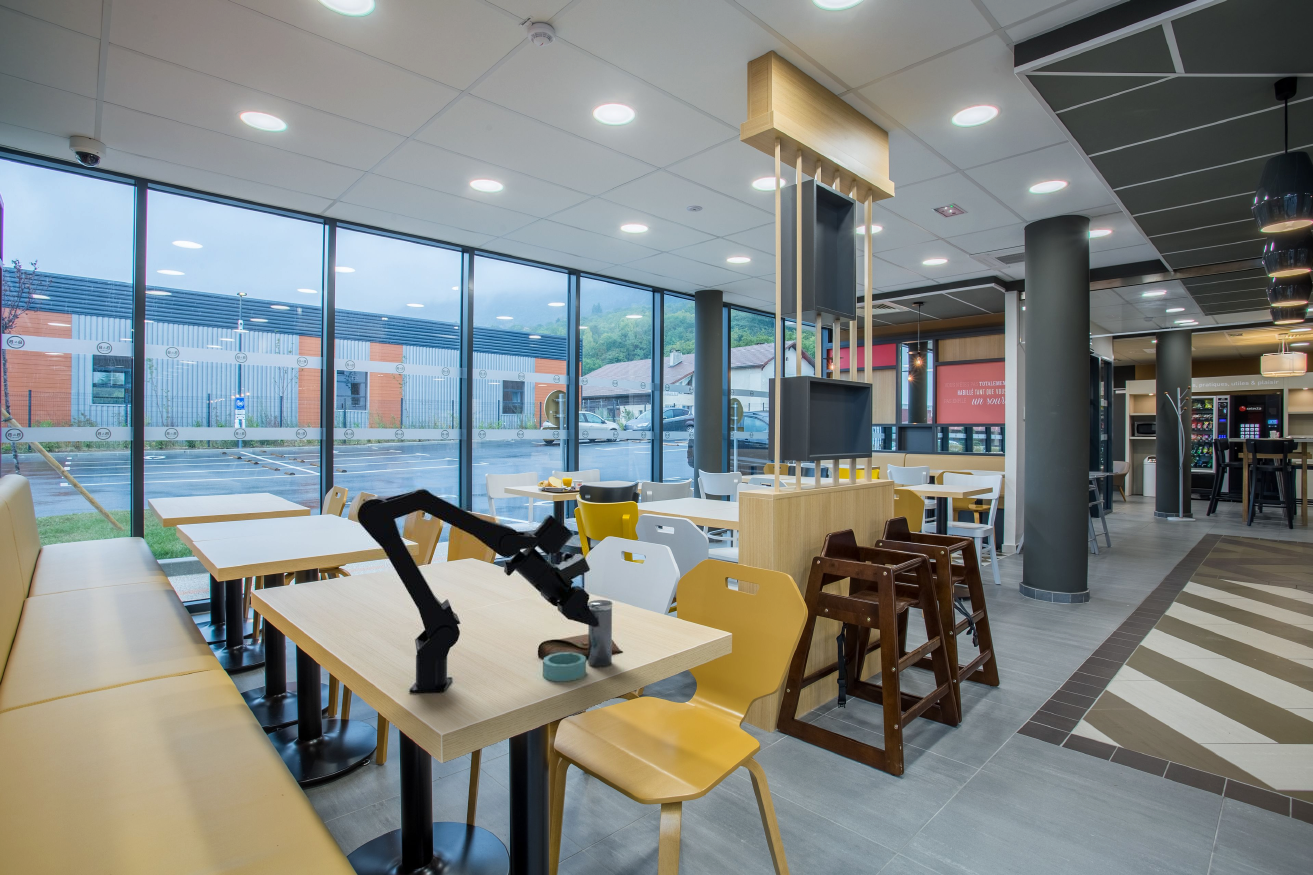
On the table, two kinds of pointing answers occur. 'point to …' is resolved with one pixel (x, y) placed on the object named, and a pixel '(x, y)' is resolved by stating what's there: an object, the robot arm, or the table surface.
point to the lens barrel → (600, 634)
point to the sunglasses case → (569, 646)
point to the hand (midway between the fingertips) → (590, 619)
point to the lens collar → (564, 666)
